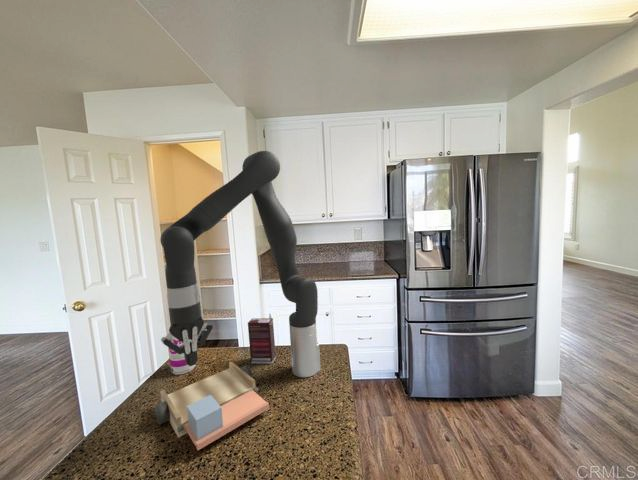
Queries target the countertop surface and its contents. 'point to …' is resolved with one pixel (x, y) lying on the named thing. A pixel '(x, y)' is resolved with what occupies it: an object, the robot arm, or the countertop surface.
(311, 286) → the robot arm
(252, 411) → the pink rectangular board
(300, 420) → the countertop surface
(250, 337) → the supplement box
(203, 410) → the blue gray block
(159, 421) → the flatbed
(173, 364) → the supplement can
